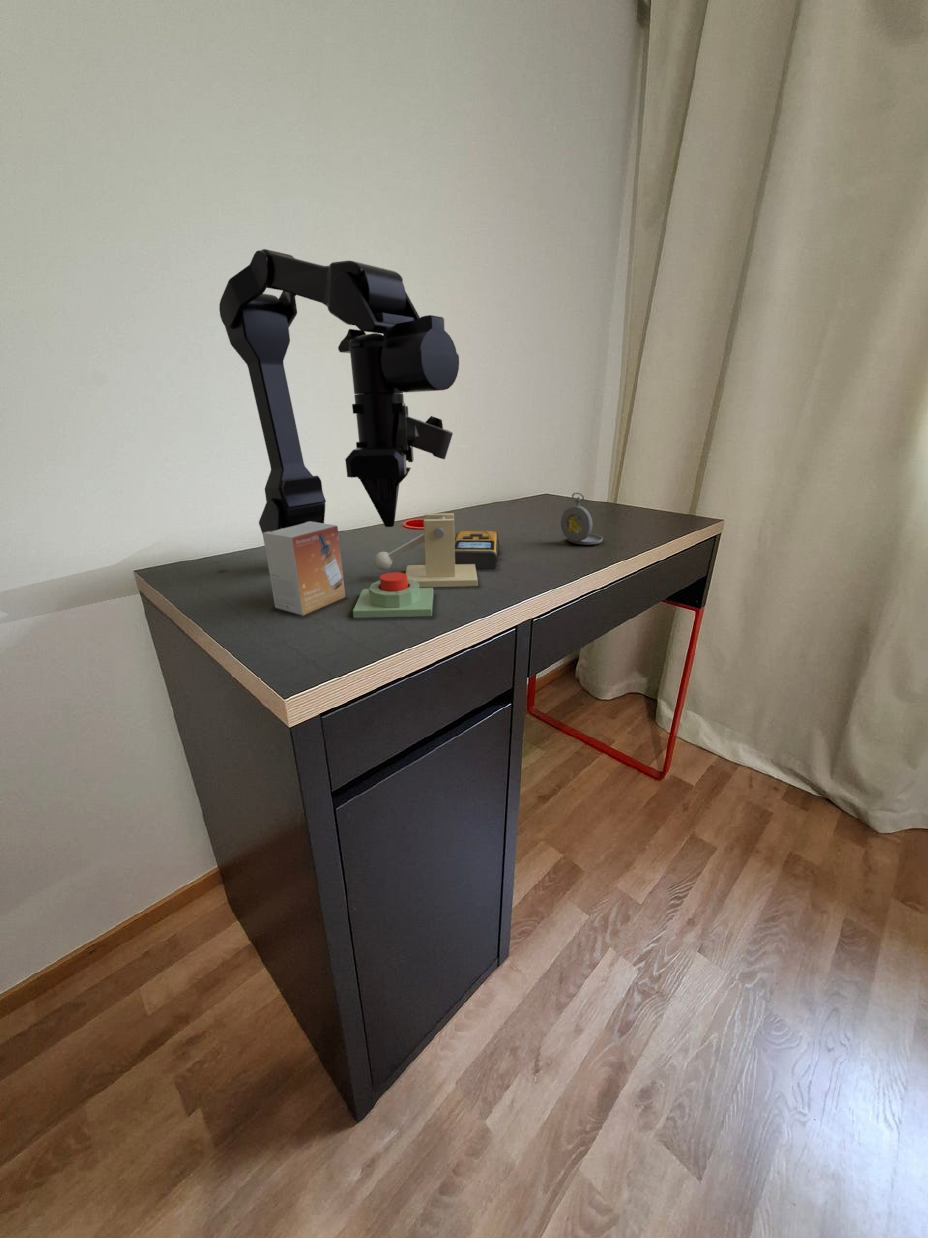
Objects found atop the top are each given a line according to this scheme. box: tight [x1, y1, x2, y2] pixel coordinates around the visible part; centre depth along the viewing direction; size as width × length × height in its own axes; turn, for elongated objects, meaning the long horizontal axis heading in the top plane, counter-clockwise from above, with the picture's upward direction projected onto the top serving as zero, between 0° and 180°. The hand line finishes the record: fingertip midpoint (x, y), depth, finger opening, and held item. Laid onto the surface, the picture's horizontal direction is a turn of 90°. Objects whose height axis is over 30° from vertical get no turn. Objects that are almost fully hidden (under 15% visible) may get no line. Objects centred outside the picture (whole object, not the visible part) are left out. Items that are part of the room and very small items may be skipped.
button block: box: [352, 579, 434, 619], centre depth 65 cm, size 10×8×3 cm
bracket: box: [405, 512, 479, 588], centre depth 74 cm, size 11×8×10 cm
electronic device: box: [454, 530, 500, 570], centre depth 87 cm, size 8×16×3 cm, turn 176°
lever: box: [373, 516, 445, 571], centre depth 74 cm, size 13×3×3 cm, turn 93°
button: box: [379, 571, 408, 592], centre depth 65 cm, size 4×4×2 cm
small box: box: [262, 521, 346, 616], centre depth 65 cm, size 8×6×10 cm
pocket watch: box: [560, 492, 604, 546], centre depth 93 cm, size 8×8×10 cm
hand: (389, 526), depth 63 cm, fingers closed
